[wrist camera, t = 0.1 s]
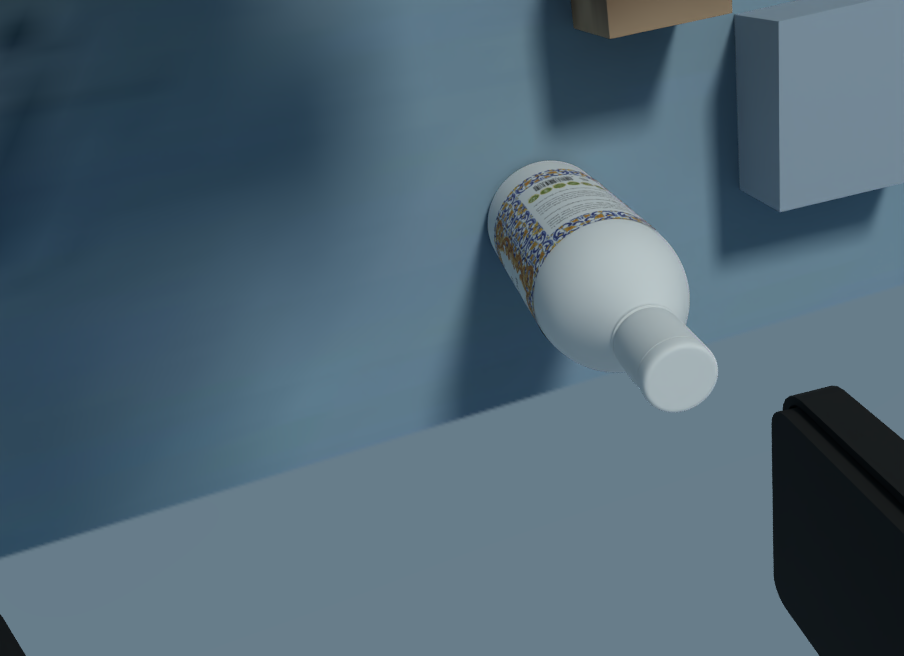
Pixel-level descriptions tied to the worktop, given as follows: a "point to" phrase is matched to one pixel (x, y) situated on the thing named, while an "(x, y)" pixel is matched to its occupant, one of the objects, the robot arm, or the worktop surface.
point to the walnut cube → (641, 14)
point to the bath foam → (600, 282)
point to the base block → (820, 100)
